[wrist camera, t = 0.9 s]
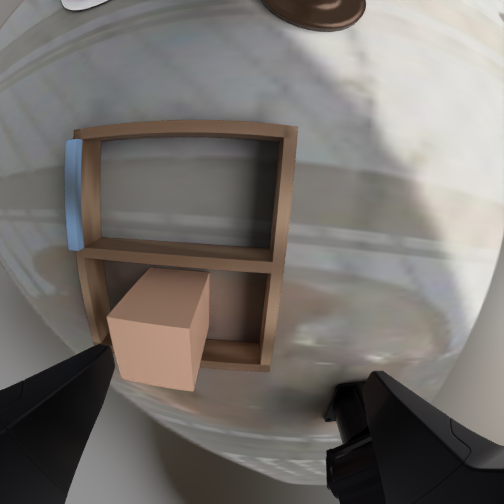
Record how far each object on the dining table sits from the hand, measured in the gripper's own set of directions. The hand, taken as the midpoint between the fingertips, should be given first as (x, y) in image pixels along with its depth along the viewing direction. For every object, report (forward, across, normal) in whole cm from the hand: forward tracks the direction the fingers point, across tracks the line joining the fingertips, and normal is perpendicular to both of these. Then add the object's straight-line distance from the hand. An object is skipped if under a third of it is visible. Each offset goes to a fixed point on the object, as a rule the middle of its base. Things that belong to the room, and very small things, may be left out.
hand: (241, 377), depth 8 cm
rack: (+13, +5, 0) cm, 14 cm away
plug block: (+13, +5, +5) cm, 15 cm away
